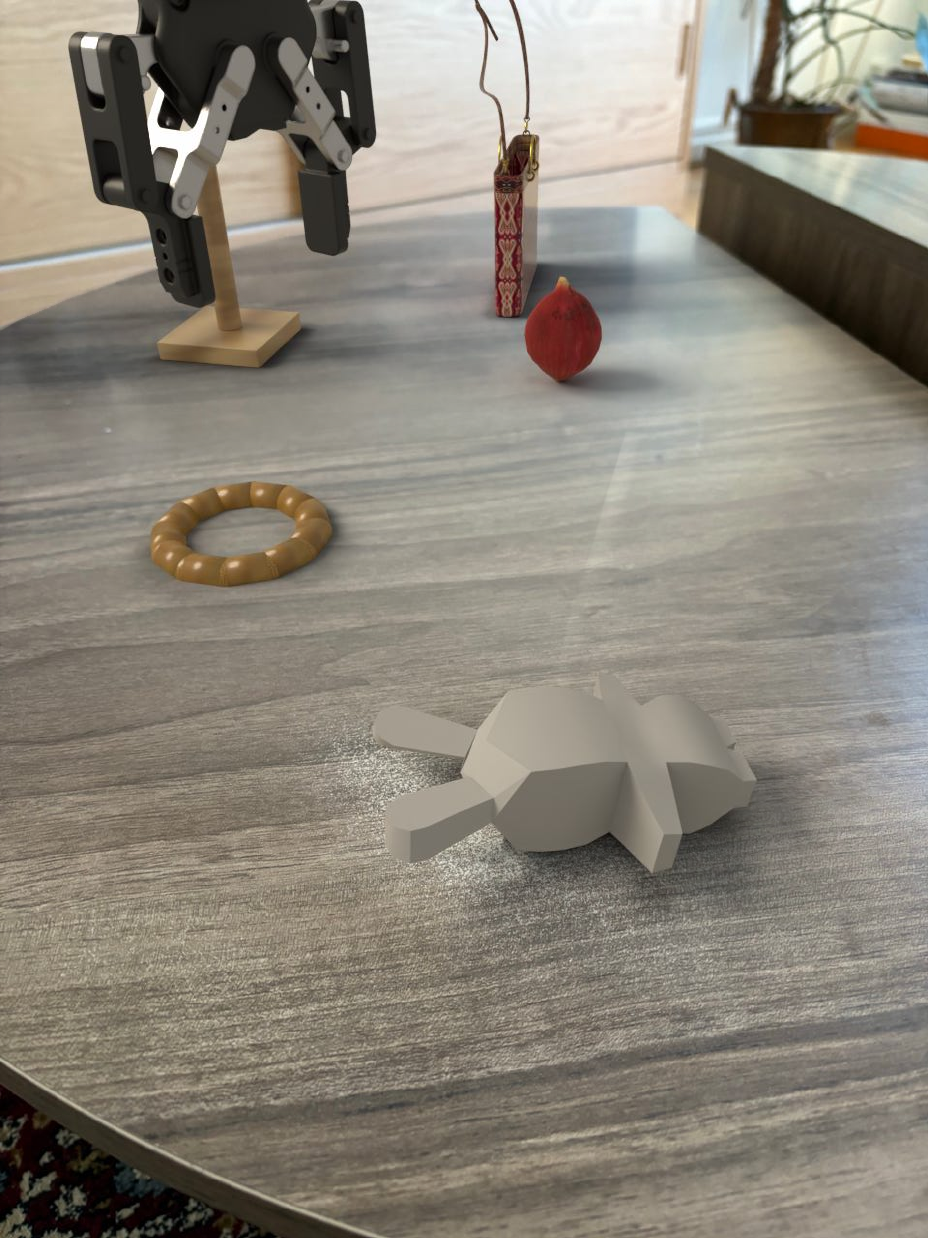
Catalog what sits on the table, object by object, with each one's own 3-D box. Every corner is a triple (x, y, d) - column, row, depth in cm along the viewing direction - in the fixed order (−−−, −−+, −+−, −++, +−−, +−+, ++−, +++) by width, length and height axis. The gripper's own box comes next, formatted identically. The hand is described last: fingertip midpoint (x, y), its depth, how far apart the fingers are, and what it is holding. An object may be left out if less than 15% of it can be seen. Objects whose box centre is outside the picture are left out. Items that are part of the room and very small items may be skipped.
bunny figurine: (797, 803, 37) (393, 823, 34) (760, 893, 40) (385, 917, 37) (709, 647, 44) (372, 653, 42) (683, 732, 47) (367, 743, 45)
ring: (121, 585, 56) (112, 556, 55) (204, 496, 64) (199, 468, 63) (291, 610, 54) (286, 580, 53) (356, 514, 62) (353, 486, 61)
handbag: (547, 250, 105) (554, -33, 90) (525, 321, 88) (530, -11, 73) (479, 249, 106) (475, -32, 91) (445, 319, 89) (433, -10, 74)
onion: (613, 378, 78) (620, 275, 73) (568, 403, 74) (573, 296, 70) (554, 360, 81) (557, 260, 76) (509, 383, 78) (509, 280, 73)
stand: (160, 359, 83) (117, 159, 74) (209, 321, 90) (175, 134, 81) (259, 368, 81) (228, 164, 72) (301, 328, 88) (277, 137, 79)
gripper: (269, -165, 43) (312, 227, 52) (-34, -169, 34) (85, 305, 43) (404, -173, 39) (423, 250, 49) (105, -180, 30) (202, 341, 40)
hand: (264, 276), depth 46 cm, fingers open, 8 cm apart
